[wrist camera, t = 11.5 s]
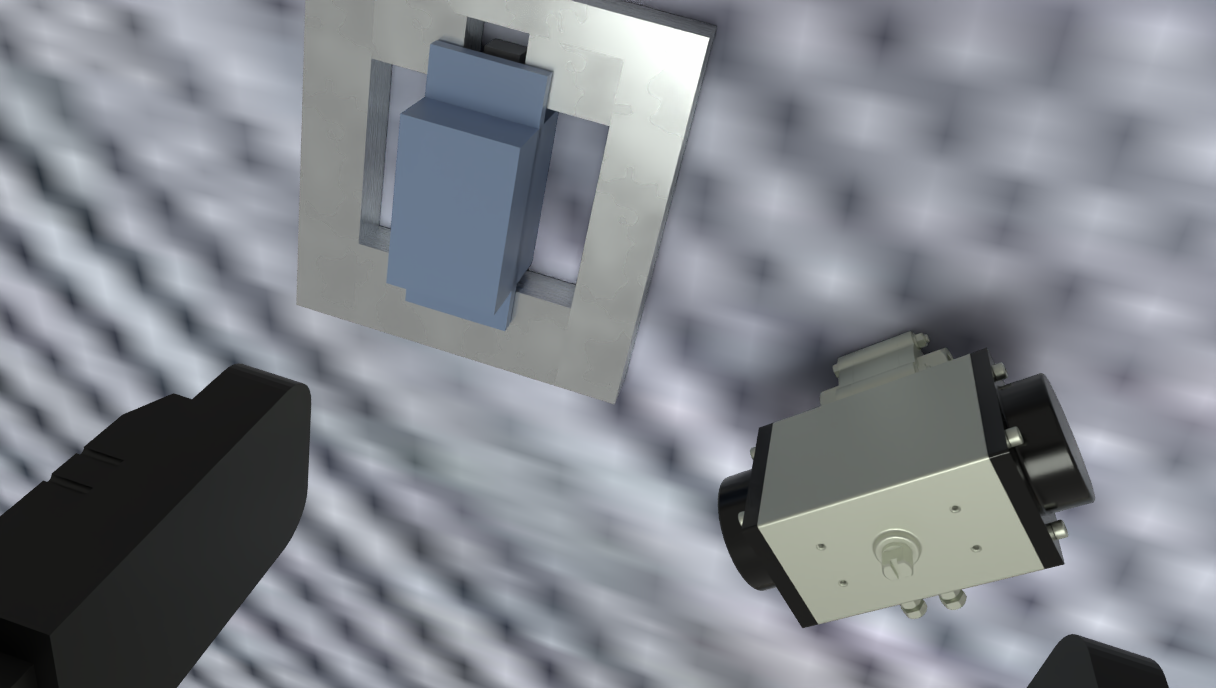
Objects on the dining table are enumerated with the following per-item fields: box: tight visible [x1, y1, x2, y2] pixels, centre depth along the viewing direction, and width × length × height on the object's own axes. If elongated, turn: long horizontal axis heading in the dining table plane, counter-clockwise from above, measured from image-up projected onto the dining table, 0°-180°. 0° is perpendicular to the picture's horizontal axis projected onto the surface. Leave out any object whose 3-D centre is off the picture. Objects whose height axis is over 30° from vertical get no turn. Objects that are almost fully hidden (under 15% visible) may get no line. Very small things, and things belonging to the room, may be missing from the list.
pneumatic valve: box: [718, 331, 1095, 628], centre depth 35 cm, size 6×12×12 cm, turn 121°
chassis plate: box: [296, 0, 717, 404], centre depth 38 cm, size 16×15×2 cm
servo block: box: [386, 39, 559, 331], centre depth 37 cm, size 11×4×5 cm, turn 168°
